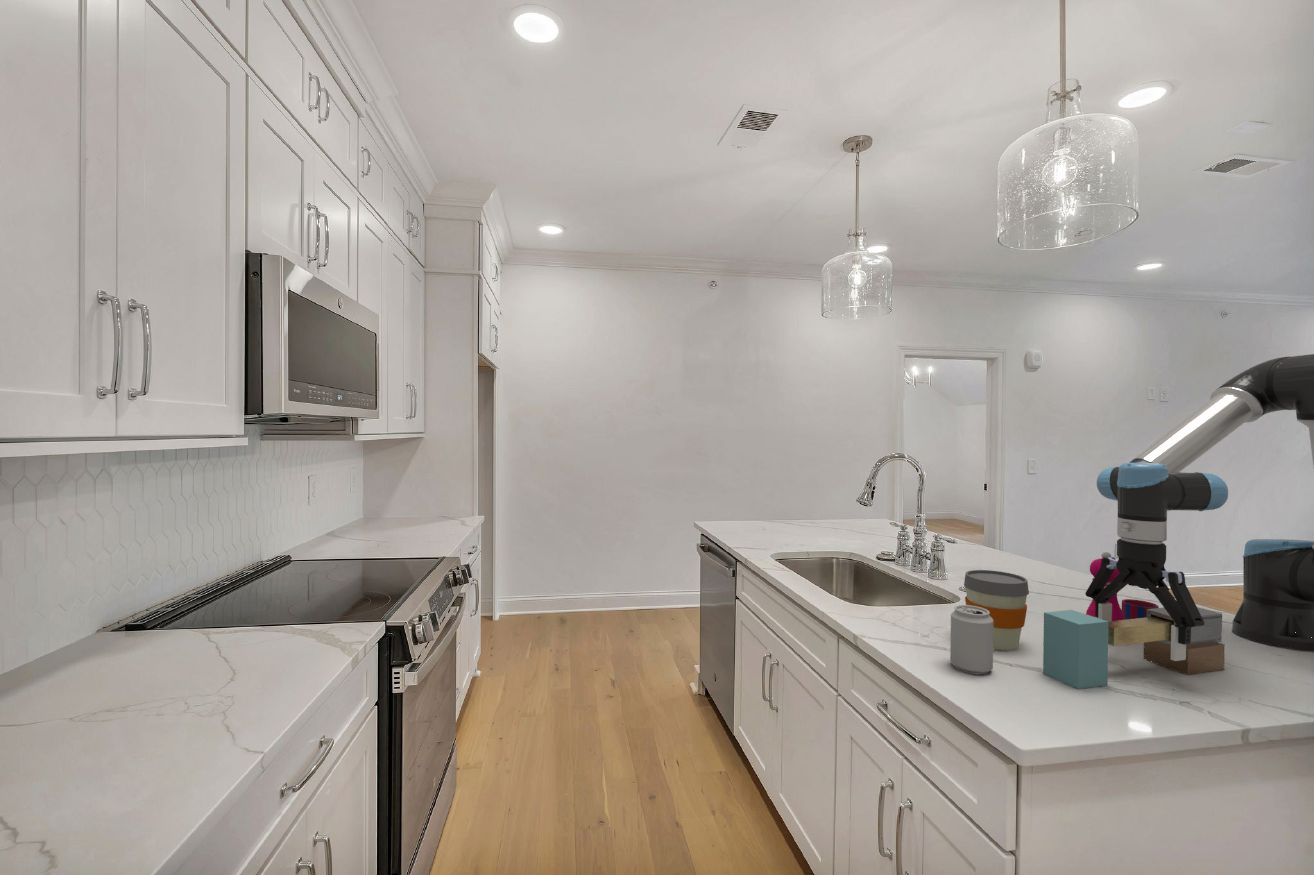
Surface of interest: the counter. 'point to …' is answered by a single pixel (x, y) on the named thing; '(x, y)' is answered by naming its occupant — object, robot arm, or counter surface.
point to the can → (971, 639)
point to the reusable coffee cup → (999, 603)
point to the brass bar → (1139, 630)
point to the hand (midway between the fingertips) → (1139, 646)
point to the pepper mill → (1094, 568)
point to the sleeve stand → (1191, 645)
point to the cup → (1136, 608)
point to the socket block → (1075, 648)
